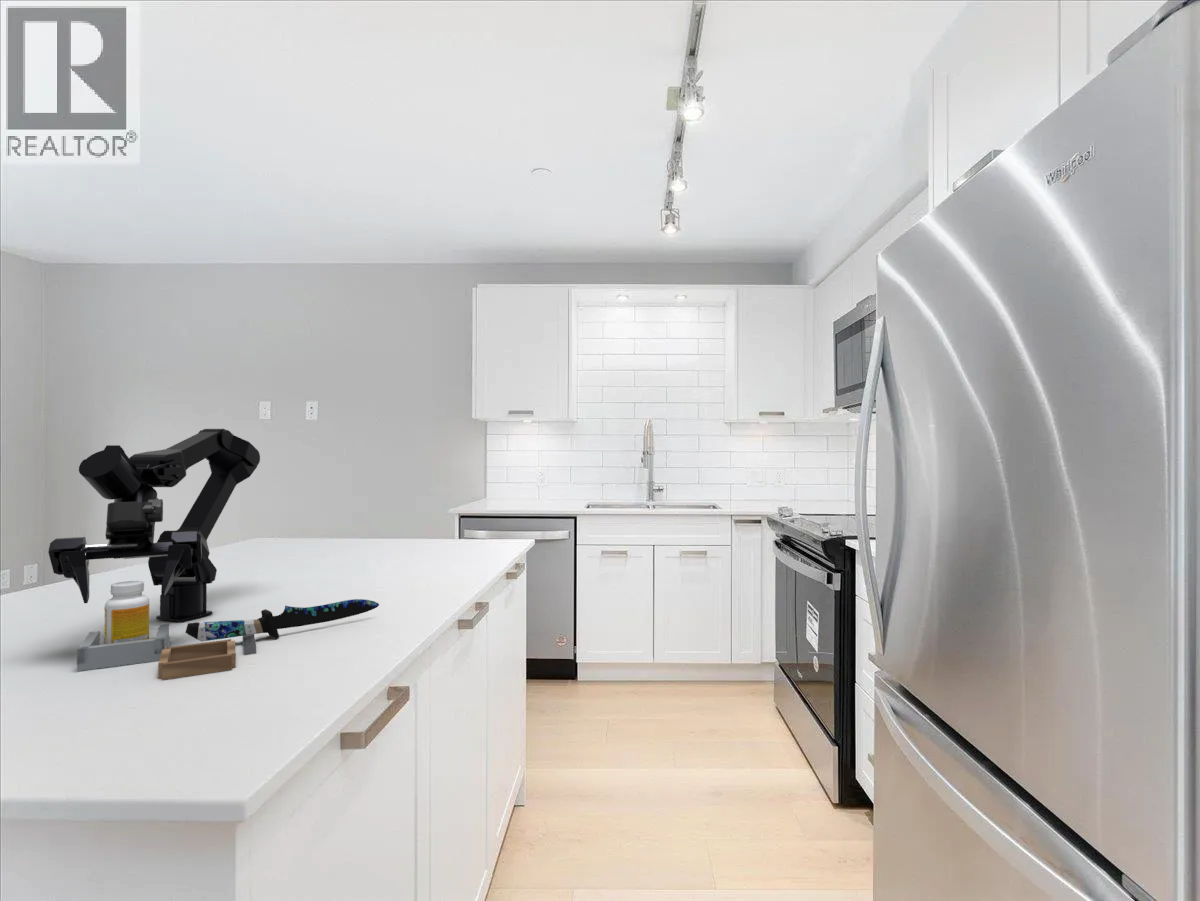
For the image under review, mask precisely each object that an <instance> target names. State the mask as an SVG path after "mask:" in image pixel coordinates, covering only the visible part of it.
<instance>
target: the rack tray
mask: <svg viewBox="0 0 1200 901" xmlns="http://www.w3.org/2000/svg"><path fill="white" fill-rule="evenodd" d="M157 629H158V630H157V632H156V634H155V636H154V637H152V638H150V637H149V639H146V640H137V641H129V642H121V643H112V644H104V643H103V644H102V643H101V642H100V640H101V639H100V638H101V636H100V634H101V632H100V631H99V630H98V631H91V632H90V631H89V633H88V634H87V636H86V637H85V638H84V640H83V641H82V643H80V645H79V646H78V648H77V649H76V672H77V671H78V672H83V671H82V670H85V671H91V670H90V669H93V670H98V669H97V668H100V669H106V668H105V667H108V668H113V667H112V666H115V667H120V665H123V666H128V665H127V664H130V665H135V664H137V663H138V664H143V663H151V662H157V661H158V662H159V659H160V656H161V653H162V650H164V649H167V647H169V645H170V644H169V643H170V623H164V624H162V623H161V624H159V626H158V628H157Z"/></svg>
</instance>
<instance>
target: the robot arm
mask: <svg viewBox="0 0 1200 901" xmlns="http://www.w3.org/2000/svg"><path fill="white" fill-rule="evenodd" d="M260 454H261V453H260V451H259V450H258V448H256V447H255V446H254V445H253V444H252V443H251V442H250V441H248V440H245V439H243V438H241V437H239V436H236V435H234V433H232V432H231V431H230V430H228V429H225V428H204V429H200V430H199V431H198V433H196V434H194V435H191V436H190V437H187V438H186V439H183V440H181V441H180V442H178V443H176V444H173V445H171V446H170V447H168V448H166V449H165V448H164V449H158V450H151V451H150V450H148V451H145V452H144V451H143V452H140V453H135V454H132V455H131V456H130V457H129V456H128V455H127V454H126V451H125V450H124V448H122V446H121V445H119V444H117V445H115V444H114V445H113V444H112V445H110V444H108V445H105V447H104V449H103V450H100V451H96V452H94V453H93V454H90V455H89V456H88V457H87V458H85V459H83V460H82V461H81V462H80V464H79V466H78V472H79V474H80V475H81V477H83V478H84V480H86V481H87V483H88V484H89V485H90V486H91V487H92V488H93V489H94V490H95V492H97V493H98V494H99V495H100V496H101V497H102V498H104V499H105V500H113V502H109V503H108V504H107V510H106V524H105V525H106V527H105V528H106V529H105V540H108V542H107V543H106V544H104V543H103V544H90V545H88V544H87V543H88V542H87V539H86V536H77V537H75V536H74V537H62V538H61V537H60V538H58V537H57V538H55V539H54V540H52V541H51V542H50V543H49V547H48V550H47V551H48V557H49V559H50V564H51V568H52V571H53V574H55V575H61V576H62V575H63V577H64V578H65V579H66V578H67V579H73V581H74V582H75V583H76V585H77V587H78V589H79V592H80V594H81V598H82V600H83V601H82V602H83V604H88V602H89V599H90V570H89V564H90V561H91V560H104V559H105V560H106V559H113V560H115V559H116V560H117V559H123V560H125V559H126V560H127V559H141V558H148V561H147V564H148V569H149V574H150V576H151V577H150V578H151V580H152V583H153V586H161V588H160V589H161V590H160V591H161V592H160V595H159V615H156V616H155V617H156V619H157V620H163V621H164V620H165V621H171V622H178V623H179V622H185V621H190V620H192V619H193V620H194V619H197V618H201V617H206V616H210V615H213V611H212V610H207V602H208V601H207V585H208V584H213V582H214V581H215V580H216V576H217V571H218V570H217V568H216V567H215V564H213V562H212V561H211V559H210V558H209V556H210V554H211V553H210V549H209V546H208V538H209V536H210V535H211V533H212V531H213V529H214V527H215V526H216V524H217V522H218V520H219V517H220V516H221V514H222V512H223V511H224V508H225V506H226V505H227V503H228V502H229V499H230V498H231V496H232V494H233V492H234V490H235V488H236V486H237V485H239V484H240V483H242V482H243V481H245V480H247V479H249V478H250V477H251V476H252V474H253V473H254V472H255V470H256V469H257V468H258V466H259V464H260V461H261V455H260ZM204 460H207V461H208V465H209V468H210V473H211V474H210V475H209V477H208V479H207V480H206V482H205V483H204V485H203V488H202V489H201V491H200V492H199V494H198V496H197V497H196V499H195V501H194V503H193V505H192V506H191V508H190V510H189V511H188V513H187V515H186V516H185V518H184V519H183V522H182V523H181V525H180V527H179V528H178V529H176V530H164V531H163V532H162V533H160V534H159V537H158V539H157V541H156V542H154V539H155V527H156V526H155V525H156V523H160V522H161V523H162V522H163V520H164V500H163V499H161V498H158V491H157V490H156V489H155V488H172V487H176V486H177V485H178V484H179V483H180V482H181V481H182V480H183V479H185V477H186V476H187V470H188V469H190V468H191V467H193V466H194V465H196V464H198V463H199V462H202V461H204Z"/></svg>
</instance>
